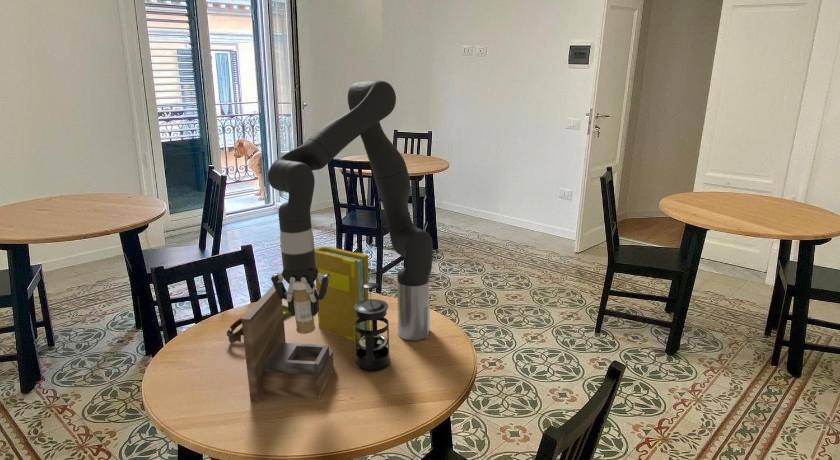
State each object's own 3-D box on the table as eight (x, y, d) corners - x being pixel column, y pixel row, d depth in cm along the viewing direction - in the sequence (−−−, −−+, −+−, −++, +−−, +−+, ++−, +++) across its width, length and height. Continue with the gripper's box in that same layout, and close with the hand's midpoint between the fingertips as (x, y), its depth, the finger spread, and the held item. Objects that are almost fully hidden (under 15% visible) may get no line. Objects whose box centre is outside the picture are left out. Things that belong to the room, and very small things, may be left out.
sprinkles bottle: (316, 325, 132) (312, 274, 128) (313, 334, 128) (308, 282, 124) (298, 325, 132) (293, 275, 128) (294, 335, 128) (288, 283, 124)
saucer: (294, 314, 176) (294, 308, 175) (275, 324, 169) (274, 318, 168) (275, 308, 180) (275, 302, 179) (255, 318, 173) (255, 312, 172)
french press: (358, 352, 152) (355, 276, 145) (391, 352, 151) (390, 276, 144) (352, 375, 140) (348, 294, 134) (387, 376, 140) (386, 294, 133)
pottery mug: (262, 351, 153) (244, 331, 150) (236, 361, 156) (218, 342, 153) (274, 322, 164) (257, 303, 160) (249, 332, 166) (232, 314, 163)
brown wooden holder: (336, 361, 147) (332, 287, 140) (315, 405, 128) (309, 322, 121) (279, 358, 148) (273, 284, 142) (250, 401, 129) (241, 318, 123)
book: (370, 332, 163) (368, 254, 155) (356, 342, 157) (353, 261, 150) (328, 319, 171) (324, 244, 164) (313, 327, 166) (308, 251, 158)
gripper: (332, 242, 126) (337, 307, 132) (273, 241, 128) (280, 306, 133) (324, 253, 119) (329, 322, 125) (261, 252, 121) (269, 321, 126)
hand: (304, 313), depth 129 cm, fingers closed on sprinkles bottle, 4 cm apart
